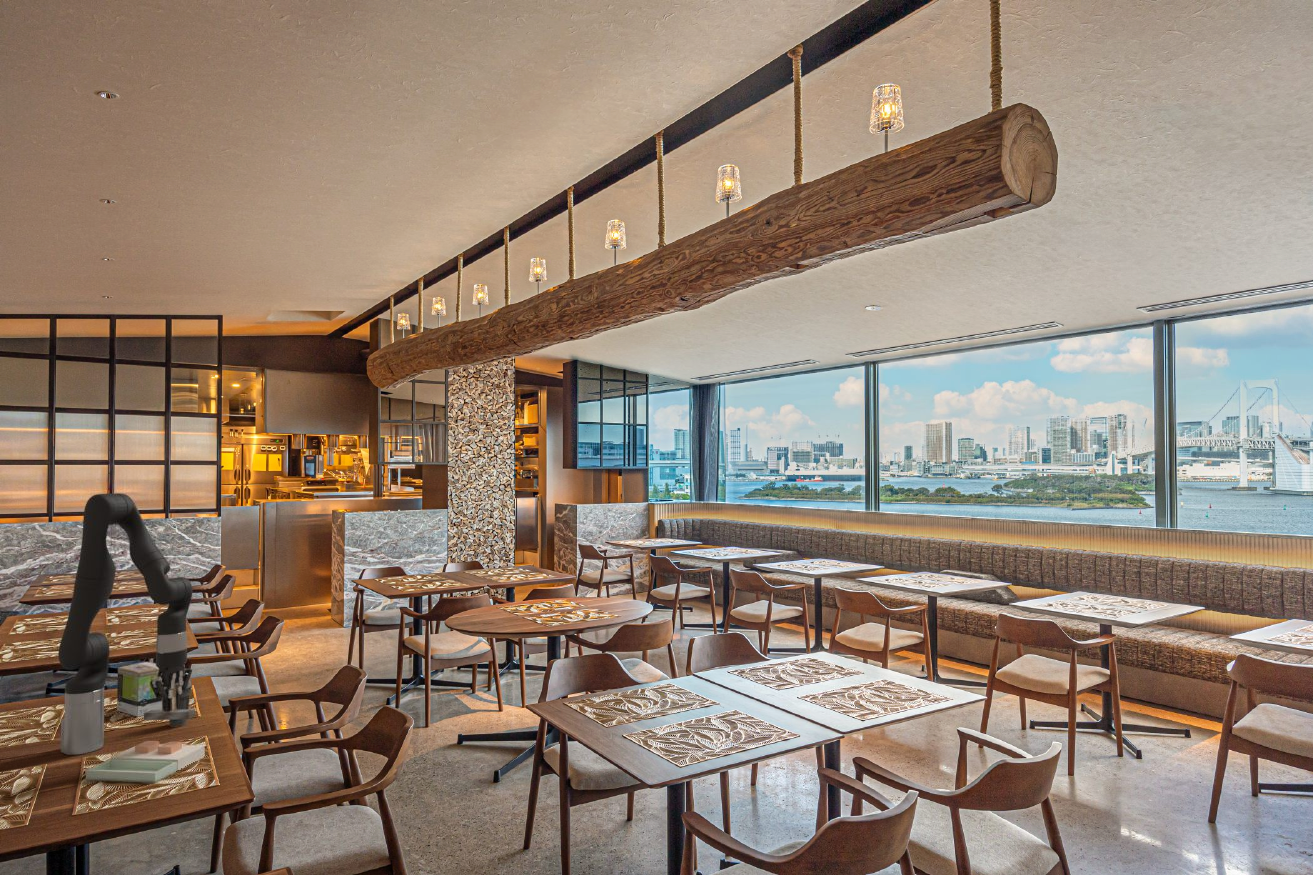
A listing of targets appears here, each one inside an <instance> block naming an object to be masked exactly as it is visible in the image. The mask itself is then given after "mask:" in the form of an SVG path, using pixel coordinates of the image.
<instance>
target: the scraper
mask: <svg viewBox="0 0 1313 875" xmlns="http://www.w3.org/2000/svg"><path fill="white" fill-rule="evenodd" d="M166 687H169V686H166ZM167 692H168V690H166V693H167ZM171 698H172V710H171V711H169V712H164V711H163V699H162V710H150V711H148V712H145V713H144V716H143V720H144V721H163V720H165V721H167V720H168V721H169V720H175V719H187V720H190V719H193V718H195V717H196V709H195V708H193V709H191V708H190V709H184V710H177V708H176V683H175V684H174V689H173V690H172V697H171Z"/></svg>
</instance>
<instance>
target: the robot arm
mask: <svg viewBox="0 0 1313 875" xmlns="http://www.w3.org/2000/svg"><path fill="white" fill-rule="evenodd" d="M114 525H118V526H119V527H121V529H122V530H123V531H124V532H125V534H126V535H127V537H128V543H129V546H128V547H129V549H128V550H129V555H130V558H131V561H132V563H133V564H134V565H135V567H136V569H137V570H138V572H139V573H140V574H141V575H142V576H143V579H144V582H145V586H146V588H147V592H148V595H149V598H151V600H152V601H153V602H154V603H156V604H157V605H162V606H164V605H165V606H166V605H167V609H166V610H165V611H164V612H161V613H160V614H158V616H157V621H156V624H157V627H156V640H155V663H156V667H158V668H159V672H158V677H157V678H156V679H155V680H152V681H150V685H151V687H152V689H153V692H154V694H155V696H156V698H162V699H163V711H164V712H169V711H171V710H172V698H171V697H172V690H173V689H174V684H175V683H176V708H179V707H180V694H181V693H182V691H183V690H186V688H187V685H188V682H189V679H190V680H191V675H192V672H193V669H192V668H186V666H185V664H187V661H188V637H187V636H188V635H187V615H188V613H189V609H190V605H191V601H192V597H193V585H192V583H191V581H190V579H188V578H186V577H185V576H178V577H172V578H167V577H166V575H167V574H168V573H169V572H170V570H171V564H170V563H169V560H167V558H166V557H165V555H164V554H163V553H162V551H161V550H160V549H159V547H158V546H157V545H156V543H155V542H154V540H153V538H152V537H151V535H150V532H149V530H148V528H147V526H146V524H145V522H144V520H143V518H142V516H141V513H140V511H139V509H138V507H137V505H136V503H135V502H134V500H133V499H132V498H131V496H129V495H127V494H125V493H97V494H94V495H91V497H89V499H88V500H87V501H86V503H85V505H84V510H83V519H82V535H81V537H82V538H81V547H80V552H79V560H78V566H77V570H76V573H75V574H76V575H75V580H74V584H73V592H72V599H71V602H70V609H69V611H68V615H67V616H68V617H67V620H66V623H65V627H64V630H63V633H62V637H61V640H60V643H59V648H58V655H57V657H58V661H59V664H60V666H61V667H62V668H63V669H65V670H67V671H73V670H78V671H77V673H76V674H75V675H74V676H73V677H72V678H70V679H69V680H67V681H66V683H65V685H64V717H63V718H62V719H61V721H60V722H61V723H60V724H61V725H60V753H63V754H65V755H68V756H69V755H71V756H72V755H74V756H75V755H83V754H87V753H92V752H94V751H97V750H99V749H101V748H103V747H104V740H105V738H104V735H105V733H104V732H105V683H106V681H107V677H108V675H109V674H108V673H109V663H110V662H109V661H110V651H111V650H110V643H109V639H108V638H107V636H106V635H105V634H103V633H102V632H97V631H94V632H91V627H92V624H93V622H94V621H95V618H96V616H97V615H98V613H99V612H100V611H101V609H102V608H103V607H104V605H105V604H106V603H107V601H108V600H109V597H110V596H111V594H112V593H113V592H112V591H113V590H114V583H115V578H116V572H117V571H116V569H117V568H116V565H115V562H114V560H113V557H112V556H111V553H110V552H109V549H108V546H107V537H108V530H109V526H114ZM183 682H184V684H183ZM182 685H183V686H182ZM166 686H169V687H166ZM166 690H168V692H167V693H166Z"/></svg>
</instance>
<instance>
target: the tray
mask: <svg viewBox="0 0 1313 875" xmlns="http://www.w3.org/2000/svg"><path fill="white" fill-rule="evenodd" d="M176 771H177V762H172V761H145V760H118V759H111V758H110V759H108V760H106V761H103V762H102V763H100V764H97V765H95V766H92V767H91V768H89V769H86V770H85V781H99V782H100V781H103V782H121V781H122V782H124V783H147V784H148V783H149V784H151V783H152V784H156V783H158V782H160V781H161V780H164V779H165V778H167V777H170V776H172V775H173V774H175V773H177V772H178V771H177V772H176Z"/></svg>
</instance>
